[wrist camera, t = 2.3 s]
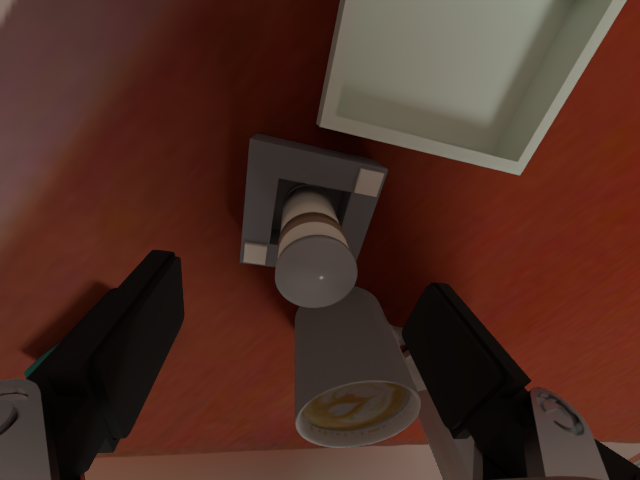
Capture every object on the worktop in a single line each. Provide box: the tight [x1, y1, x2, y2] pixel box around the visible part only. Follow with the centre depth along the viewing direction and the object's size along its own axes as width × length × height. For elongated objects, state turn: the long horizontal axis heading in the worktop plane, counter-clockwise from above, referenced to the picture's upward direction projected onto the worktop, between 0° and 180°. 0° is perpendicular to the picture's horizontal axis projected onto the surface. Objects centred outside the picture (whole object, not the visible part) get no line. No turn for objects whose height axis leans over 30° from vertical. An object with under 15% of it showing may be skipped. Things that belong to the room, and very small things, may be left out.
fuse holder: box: [240, 133, 389, 267], centre depth 19 cm, size 9×9×4 cm
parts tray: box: [316, 0, 626, 175], centre depth 15 cm, size 15×11×3 cm
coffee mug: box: [295, 286, 427, 448], centre depth 23 cm, size 13×10×10 cm
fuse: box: [275, 183, 358, 308], centre depth 15 cm, size 4×4×9 cm
